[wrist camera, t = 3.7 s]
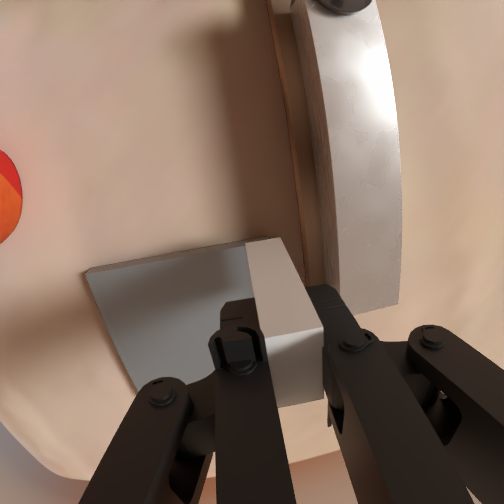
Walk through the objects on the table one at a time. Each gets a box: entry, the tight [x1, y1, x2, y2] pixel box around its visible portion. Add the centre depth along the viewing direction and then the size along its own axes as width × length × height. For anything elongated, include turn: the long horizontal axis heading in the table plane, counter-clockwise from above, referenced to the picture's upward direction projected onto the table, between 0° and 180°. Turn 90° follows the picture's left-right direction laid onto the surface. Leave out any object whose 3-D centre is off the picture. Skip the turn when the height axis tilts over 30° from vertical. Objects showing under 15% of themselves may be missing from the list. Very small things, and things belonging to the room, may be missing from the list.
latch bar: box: [290, 0, 402, 315], centre depth 12 cm, size 15×3×3 cm, turn 9°
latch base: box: [266, 0, 325, 287], centre depth 14 cm, size 17×4×1 cm, turn 9°
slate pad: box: [85, 236, 268, 392], centre depth 18 cm, size 10×10×1 cm
